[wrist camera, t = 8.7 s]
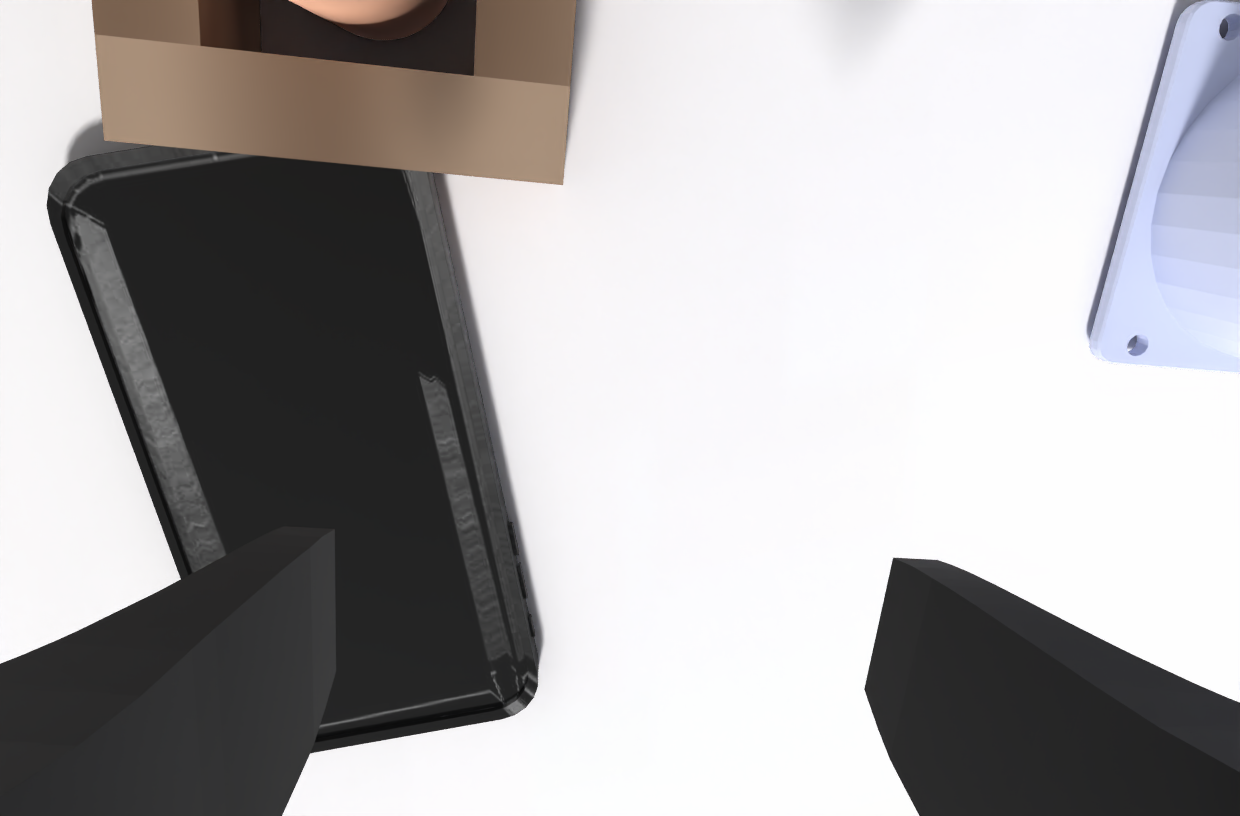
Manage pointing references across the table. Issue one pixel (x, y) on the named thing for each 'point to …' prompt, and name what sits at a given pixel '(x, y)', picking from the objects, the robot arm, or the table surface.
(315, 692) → the robot arm
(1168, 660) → the table surface
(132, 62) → the socket block
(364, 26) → the peg
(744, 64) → the table surface
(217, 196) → the phone
